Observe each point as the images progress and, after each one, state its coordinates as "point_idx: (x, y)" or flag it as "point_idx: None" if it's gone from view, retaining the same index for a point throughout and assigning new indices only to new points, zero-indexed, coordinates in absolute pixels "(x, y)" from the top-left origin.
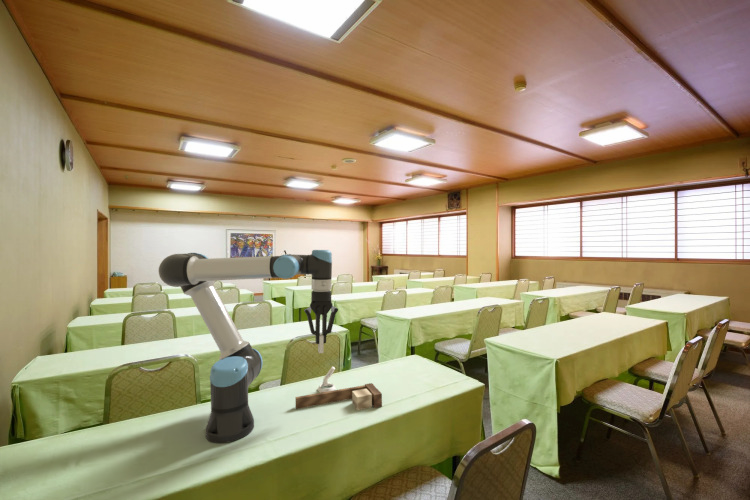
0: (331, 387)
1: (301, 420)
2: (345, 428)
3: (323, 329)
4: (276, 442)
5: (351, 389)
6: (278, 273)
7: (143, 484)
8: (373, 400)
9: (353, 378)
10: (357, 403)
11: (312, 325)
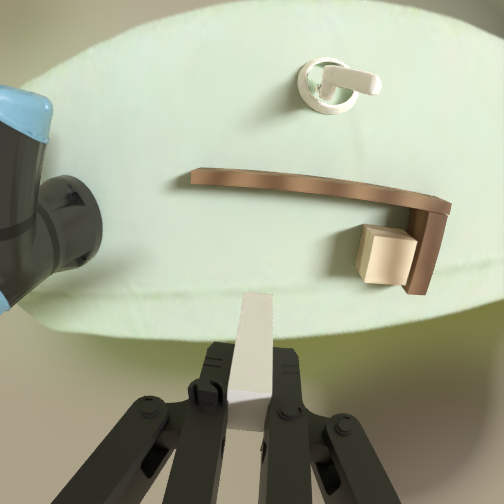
0: (342, 105)
1: (202, 248)
2: (289, 326)
3: (260, 479)
4: (146, 305)
5: (384, 202)
6: None
7: (24, 301)
8: None
9: (431, 65)
10: (360, 274)
11: (131, 498)
